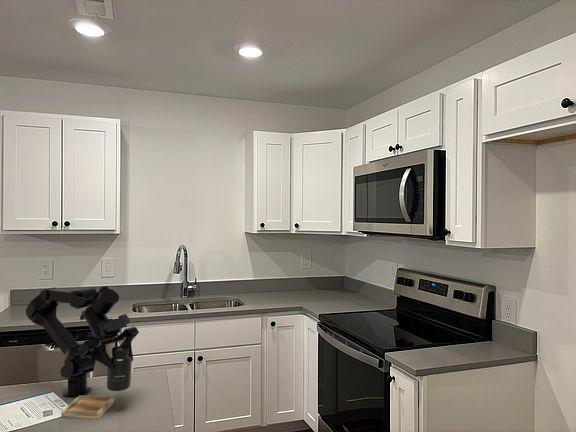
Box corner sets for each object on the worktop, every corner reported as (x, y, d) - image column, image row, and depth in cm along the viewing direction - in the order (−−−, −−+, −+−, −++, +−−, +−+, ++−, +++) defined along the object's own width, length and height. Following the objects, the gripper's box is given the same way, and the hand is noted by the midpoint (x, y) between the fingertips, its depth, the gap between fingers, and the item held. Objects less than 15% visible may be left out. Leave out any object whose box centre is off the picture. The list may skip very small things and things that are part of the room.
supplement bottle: (116, 393, 133) (117, 353, 132) (102, 388, 137) (102, 348, 136) (135, 386, 139) (136, 347, 138) (121, 380, 142) (122, 343, 142)
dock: (79, 401, 142) (79, 395, 142) (114, 401, 141) (114, 396, 141) (61, 417, 131) (61, 411, 131) (99, 418, 130) (99, 412, 130)
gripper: (84, 313, 131) (110, 358, 126) (135, 301, 147) (159, 341, 142) (67, 335, 135) (91, 380, 130) (118, 321, 151) (141, 361, 146)
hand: (122, 364), depth 137 cm, fingers closed on supplement bottle, 7 cm apart
